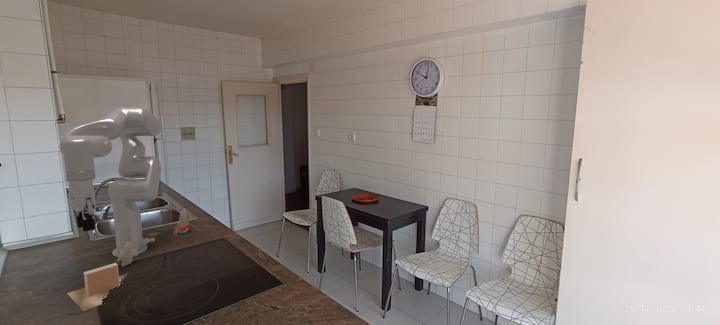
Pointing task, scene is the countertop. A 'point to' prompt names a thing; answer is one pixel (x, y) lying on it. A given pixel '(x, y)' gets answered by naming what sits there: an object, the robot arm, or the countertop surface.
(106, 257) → the countertop surface
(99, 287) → the tile
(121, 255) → the arrowhead
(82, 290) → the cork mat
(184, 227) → the figurine
